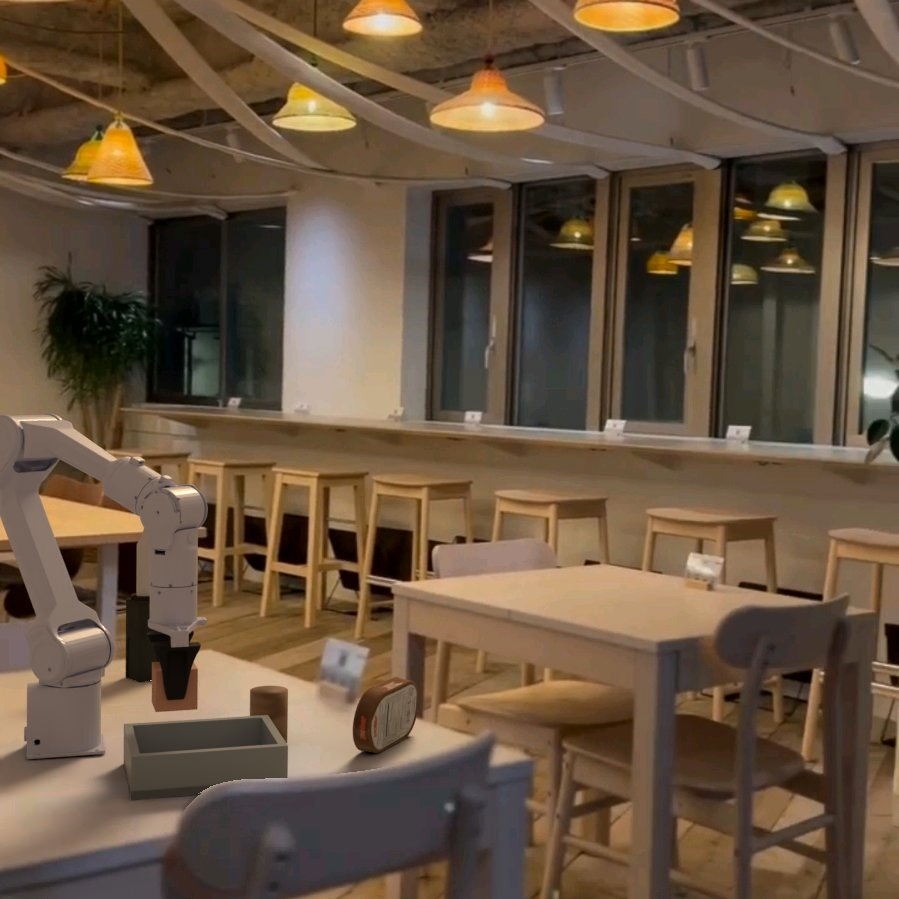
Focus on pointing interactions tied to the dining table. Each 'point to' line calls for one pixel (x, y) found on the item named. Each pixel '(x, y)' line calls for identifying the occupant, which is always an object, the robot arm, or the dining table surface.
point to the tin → (385, 715)
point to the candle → (140, 620)
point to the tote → (200, 754)
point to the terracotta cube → (165, 705)
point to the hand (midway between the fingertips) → (173, 693)
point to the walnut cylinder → (271, 705)
